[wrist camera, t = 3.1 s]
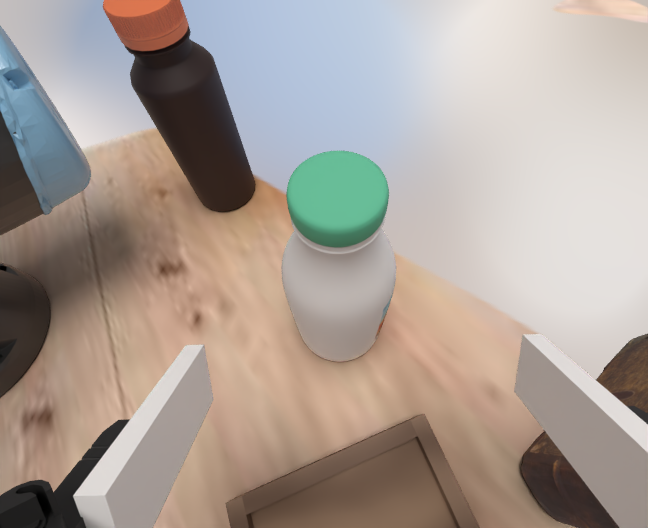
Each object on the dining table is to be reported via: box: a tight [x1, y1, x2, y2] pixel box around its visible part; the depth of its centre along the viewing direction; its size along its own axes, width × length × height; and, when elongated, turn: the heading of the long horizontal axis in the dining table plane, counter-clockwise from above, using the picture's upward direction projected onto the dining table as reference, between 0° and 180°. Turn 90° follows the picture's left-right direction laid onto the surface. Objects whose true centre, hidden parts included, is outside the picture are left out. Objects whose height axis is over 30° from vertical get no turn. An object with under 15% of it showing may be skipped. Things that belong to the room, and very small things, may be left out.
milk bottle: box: [282, 151, 396, 362], centre depth 24 cm, size 8×8×20 cm
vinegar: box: [103, 0, 255, 211], centre depth 32 cm, size 7×7×20 cm
